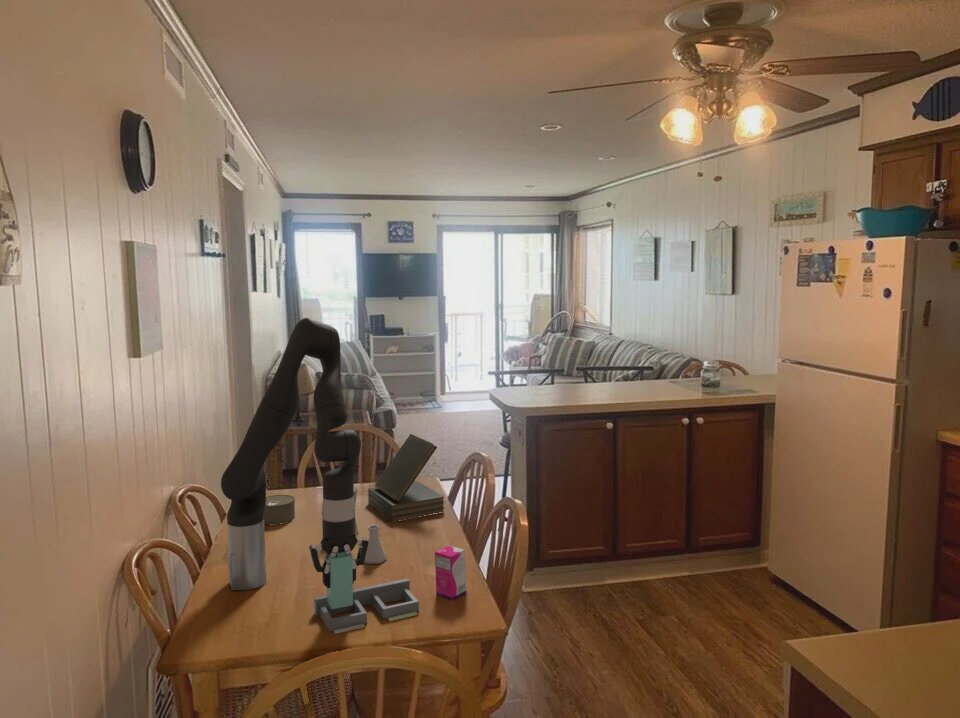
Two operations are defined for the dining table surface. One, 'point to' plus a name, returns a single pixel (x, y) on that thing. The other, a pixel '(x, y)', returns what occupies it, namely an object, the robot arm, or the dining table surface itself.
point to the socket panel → (366, 597)
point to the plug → (340, 581)
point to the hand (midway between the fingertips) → (339, 584)
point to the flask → (374, 547)
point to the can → (279, 509)
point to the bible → (406, 484)
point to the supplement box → (450, 572)
